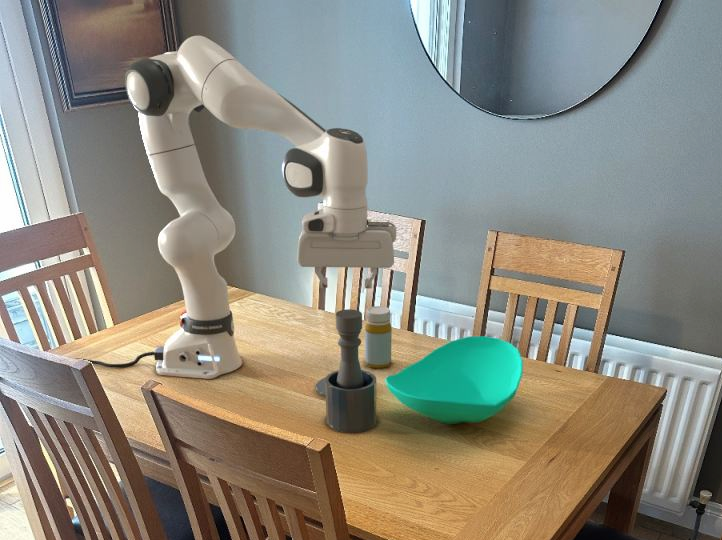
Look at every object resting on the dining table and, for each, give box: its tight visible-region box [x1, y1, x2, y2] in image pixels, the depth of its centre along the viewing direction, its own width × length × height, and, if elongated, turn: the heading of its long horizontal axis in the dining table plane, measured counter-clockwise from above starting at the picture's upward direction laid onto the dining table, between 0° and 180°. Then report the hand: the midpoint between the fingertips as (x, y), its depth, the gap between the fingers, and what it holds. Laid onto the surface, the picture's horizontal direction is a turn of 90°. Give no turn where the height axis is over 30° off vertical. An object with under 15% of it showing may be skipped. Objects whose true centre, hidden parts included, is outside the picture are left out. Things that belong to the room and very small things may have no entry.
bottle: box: [364, 305, 393, 369], centre depth 194 cm, size 7×7×15 cm
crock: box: [324, 369, 377, 434], centre depth 168 cm, size 12×12×11 cm
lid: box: [315, 369, 339, 397], centre depth 184 cm, size 13×13×5 cm
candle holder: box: [335, 308, 364, 389], centre depth 164 cm, size 6×6×25 cm
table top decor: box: [384, 335, 524, 425], centre depth 170 cm, size 40×28×13 cm
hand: (346, 287), depth 156 cm, fingers open, 8 cm apart
